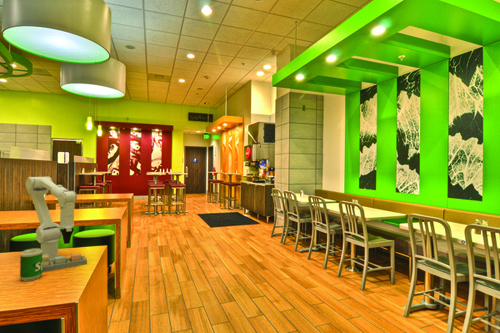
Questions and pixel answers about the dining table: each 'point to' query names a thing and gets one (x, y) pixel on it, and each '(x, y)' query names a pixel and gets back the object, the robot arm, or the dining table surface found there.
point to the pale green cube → (60, 259)
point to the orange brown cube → (75, 257)
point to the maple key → (45, 260)
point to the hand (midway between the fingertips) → (66, 243)
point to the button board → (64, 264)
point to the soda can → (31, 264)
